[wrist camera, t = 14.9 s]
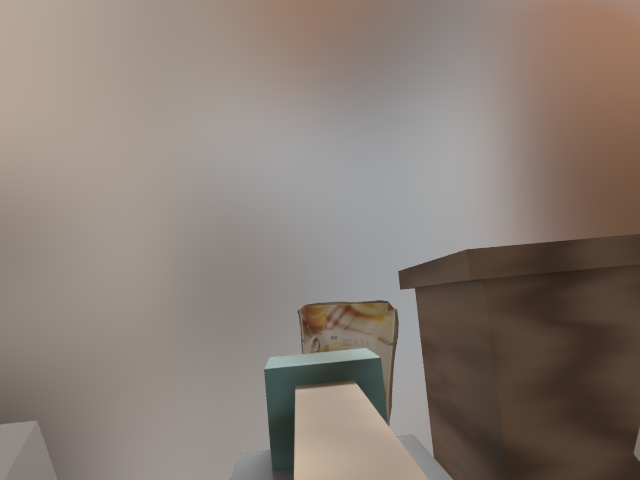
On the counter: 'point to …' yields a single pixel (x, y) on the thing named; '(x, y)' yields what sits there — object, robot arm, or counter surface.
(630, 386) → the walnut pedestal
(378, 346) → the pancake mix bag
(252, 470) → the tall grey box
